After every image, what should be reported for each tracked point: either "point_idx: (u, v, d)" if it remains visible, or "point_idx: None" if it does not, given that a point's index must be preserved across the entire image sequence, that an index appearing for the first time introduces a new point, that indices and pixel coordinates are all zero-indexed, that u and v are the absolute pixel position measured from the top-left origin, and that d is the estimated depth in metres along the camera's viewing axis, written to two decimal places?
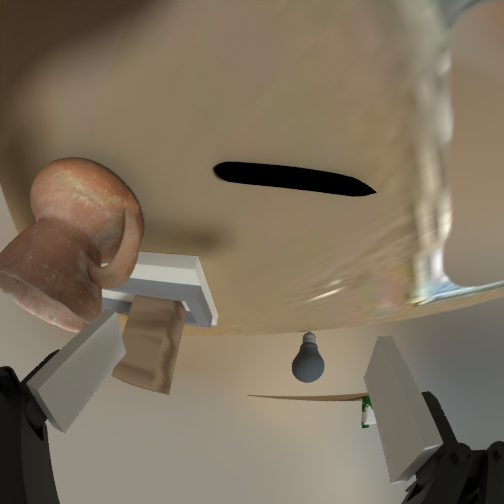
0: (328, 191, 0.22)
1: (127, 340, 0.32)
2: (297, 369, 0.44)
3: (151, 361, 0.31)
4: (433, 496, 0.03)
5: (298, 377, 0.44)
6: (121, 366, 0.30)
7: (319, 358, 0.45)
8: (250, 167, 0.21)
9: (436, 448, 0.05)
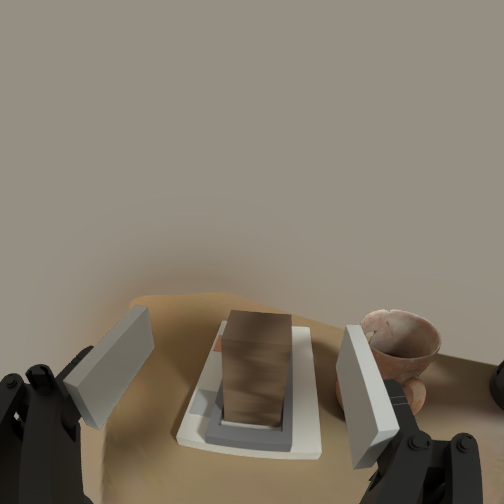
0: None
1: None
2: (88, 502, 0.11)
3: None
4: (392, 486, 0.04)
5: None
6: None
7: None
8: None
9: (393, 434, 0.06)
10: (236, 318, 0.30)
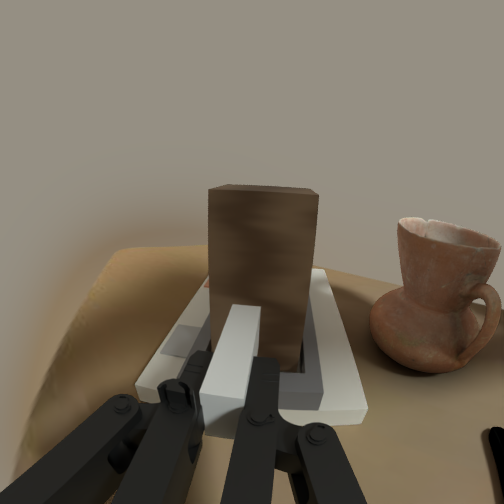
0: None
1: None
2: None
3: None
4: (239, 463, 0.06)
5: None
6: None
7: None
8: None
9: (240, 403, 0.08)
10: None
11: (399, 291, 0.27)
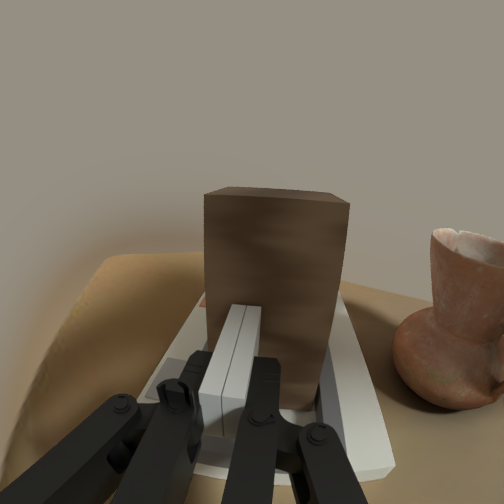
0: None
1: None
2: None
3: None
4: (240, 463, 0.06)
5: None
6: None
7: None
8: None
9: (241, 404, 0.08)
10: (236, 188, 0.17)
11: (428, 315, 0.21)
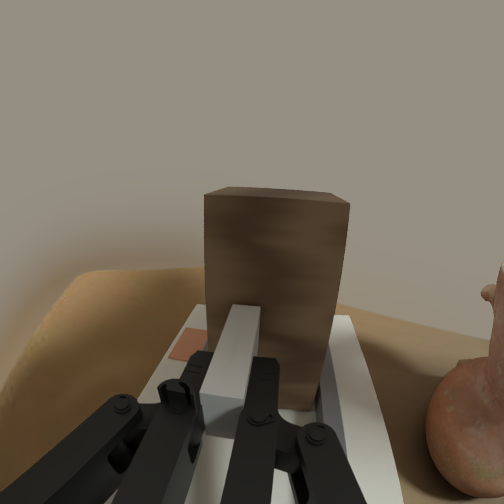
0: None
1: None
2: None
3: None
4: (239, 463, 0.06)
5: None
6: None
7: None
8: None
9: (240, 403, 0.08)
10: (236, 188, 0.17)
11: (478, 382, 0.12)
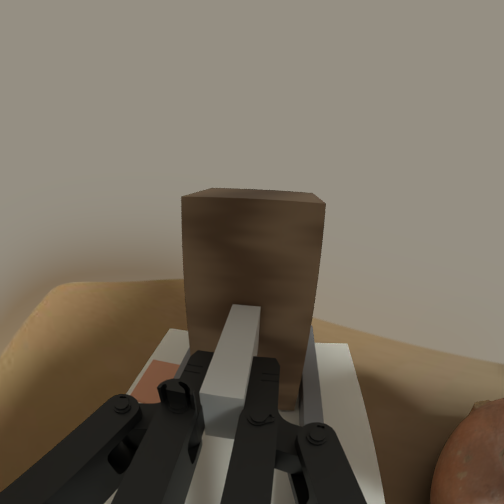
0: None
1: None
2: None
3: None
4: (239, 463, 0.06)
5: None
6: None
7: None
8: None
9: (240, 403, 0.08)
10: (217, 190, 0.17)
11: (498, 442, 0.07)
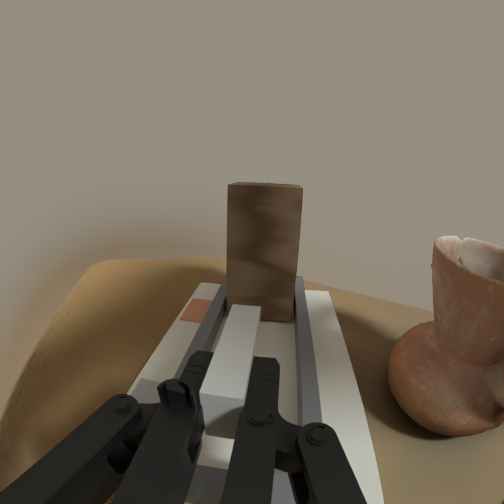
0: None
1: None
2: None
3: None
4: (239, 463, 0.06)
5: None
6: None
7: None
8: None
9: (240, 403, 0.08)
10: None
11: (428, 333, 0.19)
